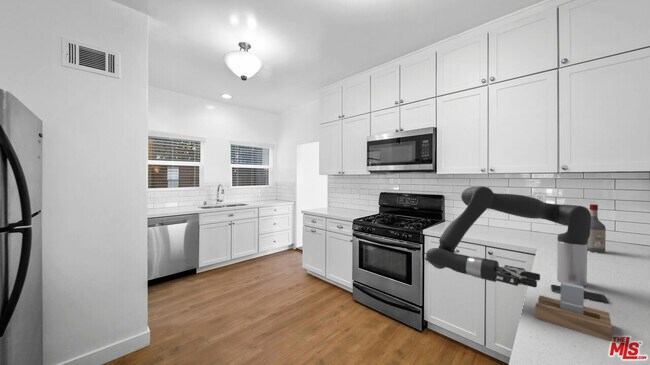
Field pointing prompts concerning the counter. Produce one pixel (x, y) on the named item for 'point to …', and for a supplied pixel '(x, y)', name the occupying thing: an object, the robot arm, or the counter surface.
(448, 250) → the robot arm
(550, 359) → the counter surface
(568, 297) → the domino
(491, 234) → the counter surface
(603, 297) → the phone
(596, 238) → the liquor
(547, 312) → the rack
